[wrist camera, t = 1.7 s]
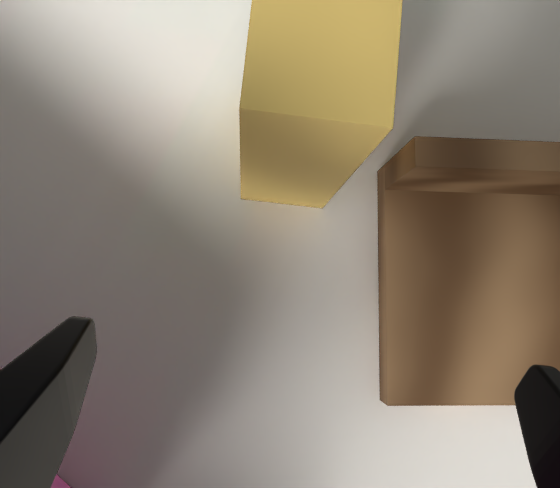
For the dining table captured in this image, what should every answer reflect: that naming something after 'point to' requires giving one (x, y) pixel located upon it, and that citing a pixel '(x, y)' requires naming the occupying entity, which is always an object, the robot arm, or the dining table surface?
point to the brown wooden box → (467, 269)
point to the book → (315, 95)
